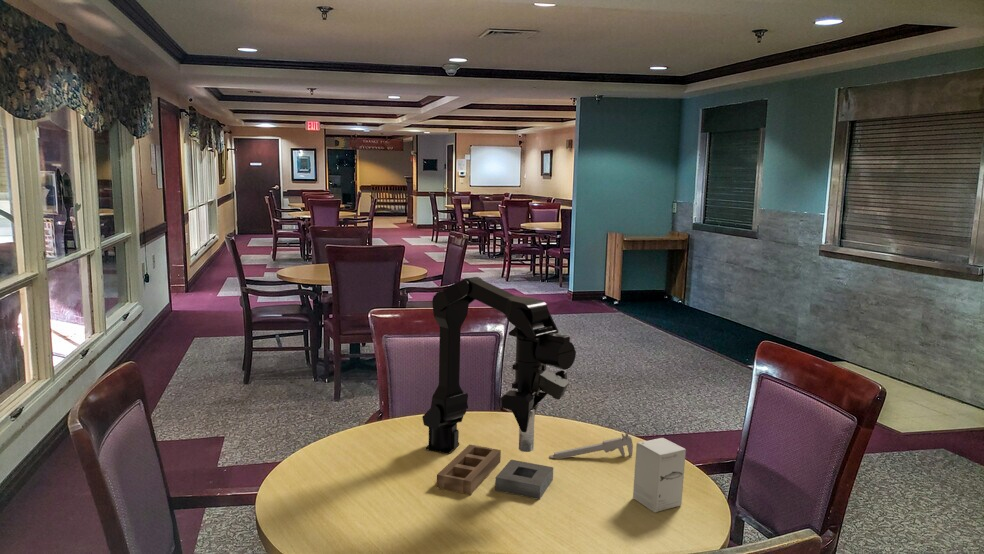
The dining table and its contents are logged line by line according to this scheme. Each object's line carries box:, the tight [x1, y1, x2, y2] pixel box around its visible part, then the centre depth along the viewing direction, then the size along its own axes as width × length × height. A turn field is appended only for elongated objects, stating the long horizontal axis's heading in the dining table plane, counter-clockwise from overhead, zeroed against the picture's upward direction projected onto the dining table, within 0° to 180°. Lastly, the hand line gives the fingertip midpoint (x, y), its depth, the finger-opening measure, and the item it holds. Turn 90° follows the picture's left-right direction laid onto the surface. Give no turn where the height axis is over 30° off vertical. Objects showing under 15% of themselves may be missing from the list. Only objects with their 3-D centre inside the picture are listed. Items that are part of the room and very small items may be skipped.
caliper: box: [548, 431, 634, 460], centre depth 165 cm, size 20×1×6 cm, turn 97°
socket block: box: [494, 459, 554, 500], centre depth 150 cm, size 10×10×3 cm
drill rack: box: [436, 443, 502, 496], centre depth 154 cm, size 8×18×3 cm, turn 159°
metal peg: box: [518, 408, 536, 453], centre depth 148 cm, size 3×3×9 cm
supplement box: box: [632, 437, 687, 514], centre depth 143 cm, size 7×7×13 cm
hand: (526, 429), depth 148 cm, fingers closed on metal peg, 3 cm apart
